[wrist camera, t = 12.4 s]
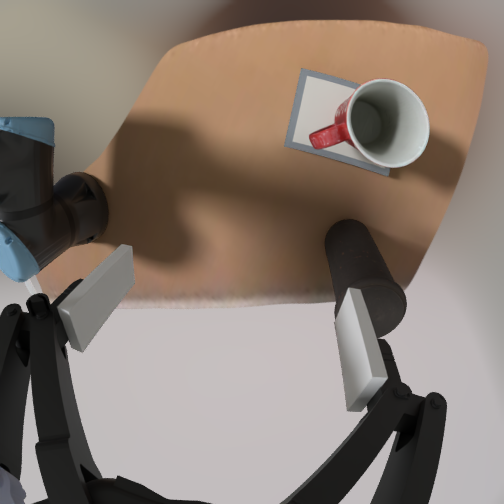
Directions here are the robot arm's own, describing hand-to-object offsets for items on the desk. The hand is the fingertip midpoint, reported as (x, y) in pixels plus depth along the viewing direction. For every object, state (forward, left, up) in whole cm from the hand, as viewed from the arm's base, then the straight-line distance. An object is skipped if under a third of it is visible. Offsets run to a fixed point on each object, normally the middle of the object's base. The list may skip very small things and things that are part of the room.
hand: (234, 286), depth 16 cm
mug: (+9, +11, -27) cm, 31 cm away
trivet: (+9, +12, -30) cm, 33 cm away
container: (+15, -7, -30) cm, 34 cm away
